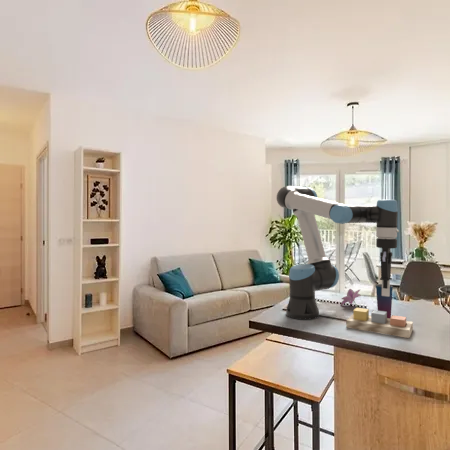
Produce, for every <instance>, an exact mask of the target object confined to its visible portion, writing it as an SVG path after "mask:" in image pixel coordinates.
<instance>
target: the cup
mask: <svg viewBox="0 0 450 450" xmlns="http://www.w3.org/2000/svg"><path fill="white" fill-rule="evenodd" d="M393 287H394V286H393V285H391V284H390V296H389V297H388V296H382V283H379V284H378V283H377V284H376V285H375V291H376V293H375V294H376V304H377V305H376V307H377V310H378V311H385V312H387V318H391V316H392V308H393V307H392V305H393Z"/></svg>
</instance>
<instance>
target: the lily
mask: <svg viewBox="0 0 450 450" xmlns="http://www.w3.org/2000/svg"><path fill="white" fill-rule="evenodd" d="M360 291H361V289H358V290H356V291H354V290H353V289H351V288H349V289H348V291H347V293H346V296H343V297H341V300H342V301H341V303H340V306H342V305H345V304H347V303H349V305H353V303H354V304H355V307H356V308H359V307H358V305H357V304H356V302H355V300H356V299H357V298H359V297H361V296H362V295H361V294H359V292H360Z"/></svg>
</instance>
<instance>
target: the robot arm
mask: <svg viewBox="0 0 450 450" xmlns="http://www.w3.org/2000/svg"><path fill="white" fill-rule="evenodd" d="M276 201H277V204H278V205H279V206H280V207H281V208H283V209H288V210H292V212H293V215H295V216H296V217H297V221H298V224H299V228H300V232H301V233H300V234H301V235H302V236H301V237H302V239H303V244H304V247H305V251H306V254H307V255H306V256H307V260H308V262H307V263H304V264H303V263H302V264H301V263H300V264H296V265H293V266H291V267H290V268H289V275H288V282H289V300H288V302H287V306H286V310H285V315H286V316H287V317H289V318H291V319H296V320H303V321H304V320H315V319H317V318H319V316H320V311H319V307H318V304H317V301H316V291H323V290H328V289H332V288H334V287H335V286H336V285H337V284H338V282H339V280H340V273H339V270H338V268H337V267H336V266H335V265H334V264H332V262H331V259H330V258H328V257H327V255H326V253H325V249H324V244H323V242H322V238H321V235H320V234H321V233H320V230H319V227H318V223H317V219H316V216H319V217H322V218H324V219H325V218H326V219H328V220H329V219H330V220H332V221H333V223H335V224H341V225H343V224H345V225H346V224H361V223H363V224H364V223H366V224H367V223H368V224H369V223H370V224H371V223H373V224H376V234H375V235H376V242H375V244H376V245H375V246H376V247H377V248H378V249H382V250H381V252H380V254H379V255H380V257H379V258H380V278H379V281H381V284H382V296H388V297H389V296H390V285H391V284H390V283H391V282H390V281H392V279H393V278H392V276H391V273H392V261H393V260H392V257H393V251H392V249H396V248H398V239H397V237H398V233H399V232H400V230H399V229H398V212H399V209H398V201H397V200H396V199H378V200H377V201H376V204H345V203H341V202H337V201H333V200H329V199H325V198H320V197H318V195H317V192H316V191H315V189H313V188H311V187H310V186H305V185H302V186H300V185H299V186H298V185H297V186H295V185H286V186H283V187H281V188H280V189H279V190H278V191H277V193H276Z"/></svg>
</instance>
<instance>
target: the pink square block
mask: <svg viewBox="0 0 450 450" xmlns="http://www.w3.org/2000/svg"><path fill="white" fill-rule="evenodd" d="M406 321H407V317H406V316H400V315H394V314H391V318H390V325H395V326H401V327H406Z"/></svg>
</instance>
